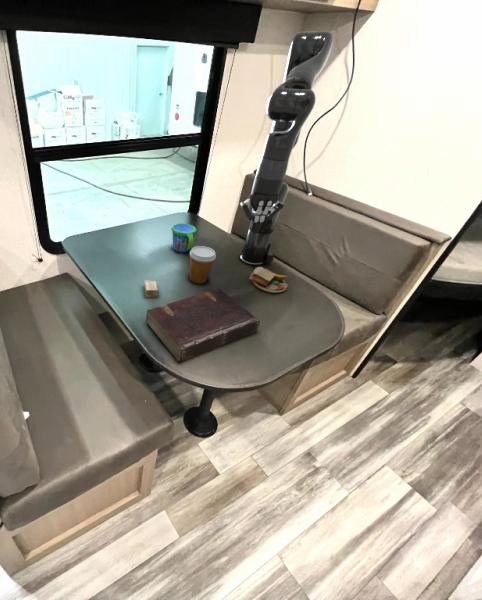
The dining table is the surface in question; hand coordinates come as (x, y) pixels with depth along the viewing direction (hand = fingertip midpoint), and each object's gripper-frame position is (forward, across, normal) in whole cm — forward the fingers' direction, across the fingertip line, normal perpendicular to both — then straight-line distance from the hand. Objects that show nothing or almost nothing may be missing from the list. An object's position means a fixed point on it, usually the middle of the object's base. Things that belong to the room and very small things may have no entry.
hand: (253, 232), depth 98 cm
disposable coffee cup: (+25, +11, -12) cm, 30 cm away
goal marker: (+25, +30, -4) cm, 39 cm away
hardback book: (+25, +17, +16) cm, 34 cm away
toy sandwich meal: (+26, -15, -8) cm, 31 cm away
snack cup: (+26, +12, -37) cm, 47 cm away
